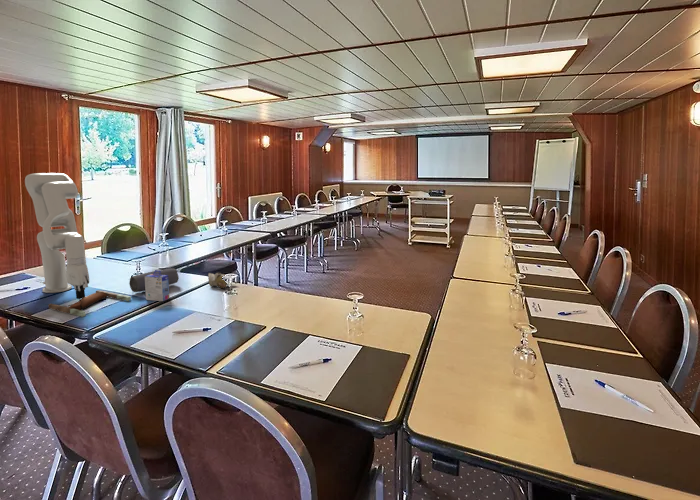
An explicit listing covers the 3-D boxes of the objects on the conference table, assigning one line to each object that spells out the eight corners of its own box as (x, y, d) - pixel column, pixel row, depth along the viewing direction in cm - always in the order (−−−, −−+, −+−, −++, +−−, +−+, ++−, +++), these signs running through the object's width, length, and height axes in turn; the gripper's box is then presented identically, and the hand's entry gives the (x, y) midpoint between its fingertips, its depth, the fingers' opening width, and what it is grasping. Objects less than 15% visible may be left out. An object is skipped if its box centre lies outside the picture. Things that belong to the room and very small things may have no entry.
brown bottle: (90, 297, 206) (95, 286, 205) (103, 304, 207) (108, 293, 206) (64, 309, 189) (70, 298, 187) (78, 317, 189) (84, 306, 188)
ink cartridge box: (170, 298, 208) (168, 270, 205) (163, 301, 202) (161, 273, 199) (153, 296, 210) (150, 269, 207) (145, 300, 204) (143, 271, 201)
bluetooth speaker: (170, 283, 233) (169, 266, 231) (179, 286, 228) (178, 268, 226) (129, 292, 215) (127, 274, 213) (138, 296, 210) (137, 277, 207)
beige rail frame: (48, 308, 190) (48, 304, 189) (98, 293, 212) (98, 290, 212) (82, 316, 181) (81, 312, 181) (131, 300, 203) (130, 296, 203)
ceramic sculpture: (214, 267, 234) (237, 272, 230) (214, 282, 236) (237, 286, 232) (202, 272, 224) (226, 277, 220) (202, 287, 226) (226, 292, 222)
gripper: (58, 260, 194) (62, 298, 198) (79, 264, 189) (83, 302, 193) (73, 257, 201) (78, 293, 205) (94, 261, 196) (98, 298, 199)
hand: (80, 298), depth 199 cm, fingers closed
